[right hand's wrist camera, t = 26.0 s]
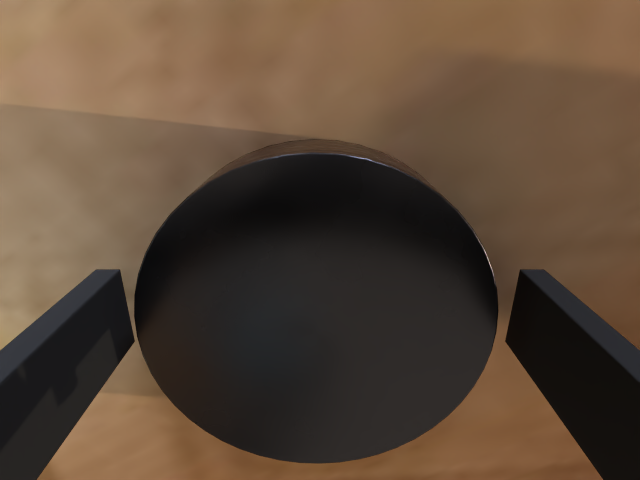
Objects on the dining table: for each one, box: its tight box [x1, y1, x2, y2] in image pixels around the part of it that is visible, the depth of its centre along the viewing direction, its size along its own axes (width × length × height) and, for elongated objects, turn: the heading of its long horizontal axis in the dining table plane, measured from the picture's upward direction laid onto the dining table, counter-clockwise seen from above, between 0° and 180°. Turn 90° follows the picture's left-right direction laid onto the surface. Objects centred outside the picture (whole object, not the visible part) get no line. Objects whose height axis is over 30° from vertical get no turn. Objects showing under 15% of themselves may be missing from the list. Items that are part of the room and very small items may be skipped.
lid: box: [134, 139, 498, 463], centre depth 13 cm, size 11×11×2 cm
